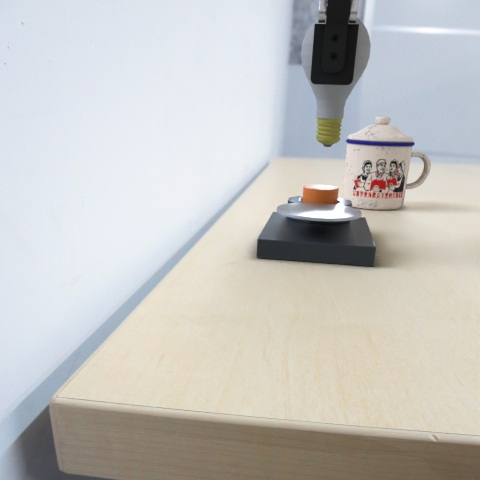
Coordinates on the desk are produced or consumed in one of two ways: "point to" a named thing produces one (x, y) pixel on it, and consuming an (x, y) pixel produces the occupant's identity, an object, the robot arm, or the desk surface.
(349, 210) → the weigh plate
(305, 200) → the short orange cylinder
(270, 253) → the scale
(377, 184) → the teacup with lid
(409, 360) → the desk surface
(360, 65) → the light bulb
